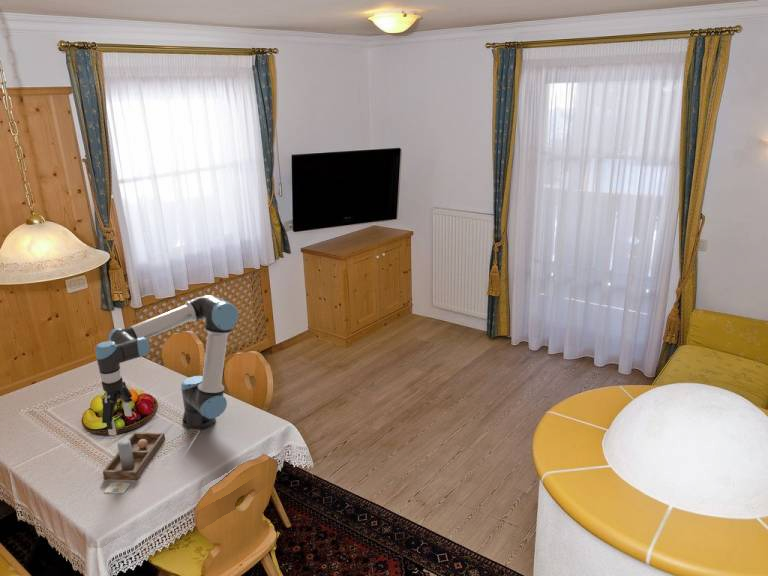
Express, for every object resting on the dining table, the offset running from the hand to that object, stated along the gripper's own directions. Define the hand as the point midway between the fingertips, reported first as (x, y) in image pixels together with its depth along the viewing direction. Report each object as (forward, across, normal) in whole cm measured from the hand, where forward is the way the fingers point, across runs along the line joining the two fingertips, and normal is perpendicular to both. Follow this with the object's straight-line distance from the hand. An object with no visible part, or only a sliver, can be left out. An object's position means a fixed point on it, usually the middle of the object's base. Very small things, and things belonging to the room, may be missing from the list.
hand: (121, 425), depth 238 cm
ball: (+21, -14, 0) cm, 25 cm away
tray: (+22, -7, 0) cm, 23 cm away
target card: (+22, +12, +1) cm, 25 cm away
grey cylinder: (+21, 0, 0) cm, 21 cm away
